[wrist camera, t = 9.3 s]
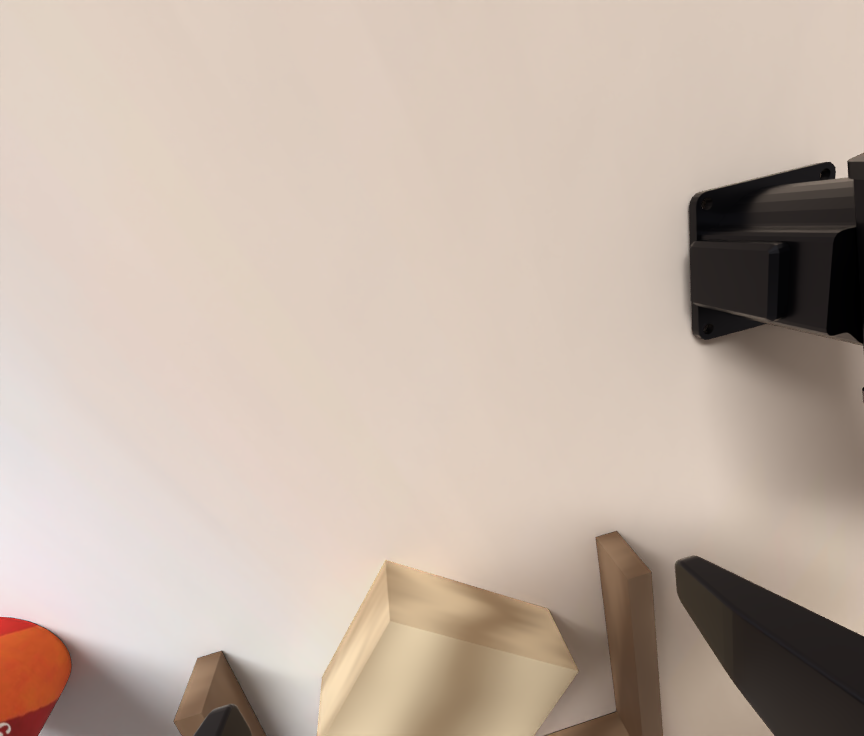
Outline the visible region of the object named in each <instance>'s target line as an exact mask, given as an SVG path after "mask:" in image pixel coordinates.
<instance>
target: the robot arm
mask: <svg viewBox="0 0 864 736" xmlns="http://www.w3.org/2000/svg"><path fill="white" fill-rule="evenodd" d="M847 162H848V177H849V178H840V179H835V173H836V171H835V166H834V165H833V164H832V163H831V162H824V163H817V164H813V165H808V166H804V167H800V168H796V169H792V170H788V171H784V172H780V173H776V174H772V175H767V176H763V177H759V178H755V179H751V180H747V181H743V182H739V183H735V184H731V185H726V186H722V187H718V188H714V189H710V190H706V191H702V192H699V193H697V194H695V195H694V196H693V197H692V199H691V201H690V205H689V218H690V268H691V301H692V330H693V334H694V335H695V336H696V337H698V338H702V339H705V340H706V339H712V338H716V337H719V336H723V335H727V334H730V333H734V332H738V331H741V330H745V329H749V328H752V327H756V326H760V325H763V324H772V325H776V326H780V327H785V328H789V329H793V330H798V331H802V332H806V333H811V334H815V335H819V336H824V337H828V338H832V339H837V340H841V341H845V342H850V343H854V344H858V345H863V349H864V153H862V154H860V155H858V156H856V157H854V158H851V159H849V160H848V161H847ZM820 173H821V177H820ZM703 200H705V202H706V204H705V207H704V208H703V209H702V206H701V204H702V201H703ZM706 325H707V329H706V330H705V331H703V330H704V327H705V326H706ZM862 393H863V402H864V387H863V389H862ZM675 573H676V586H677V593H678V596H679V599H680V601H681V603H682V604H683V606H684V607H685V609H686V610H687V612H688V614H689V615H690V617H691V618H692V620H693V621H694V623H695V624H696V626H697V627H698V629H699V630H700V632H701V634H702V635H703V637H704V638H705V640H706V641H707V643H708V644H709V646H710V647H711V649H712V651H713V652H714V654H715V655H716V657H717V658H718V660H719V661H720V663H721V664H722V666H723V667H724V669H725V670H726V672H727V673H728V675H729V676H730V678H731V679H732V681H733V682H734V684H735V685H736V686H737V688H738V689H739V690H740V692H741V693H742V694H743V696H744V697H745V698H746V700H747V701H748V702H749V703H750V705H751V706H752V707H753V709H754V710H755V711H756V712H757V714H758V715H759V716H760V718H761V719H762V720H763V721H764V723H765V724H766V725H767V727H768V728H769V729H770V730H771V732H772V733H773V734H774V736H864V636H862V635H860V634H858V633H856V632H853V631H851V630H849V629H847V628H845V627H843V626H841V625H839V624H837V623H835V622H833V621H831V620H829V619H827V618H825V617H823V616H820V615H818V614H816V613H814V612H812V611H810V610H808V609H806V608H804V607H802V606H800V605H798V604H796V603H794V602H792V601H789V600H787V599H785V598H783V597H781V596H779V595H777V594H775V593H773V592H771V591H769V590H767V589H765V588H763V587H761V586H759V585H756V584H754V583H752V582H750V581H748V580H746V579H744V578H742V577H740V576H738V575H736V574H734V573H732V572H730V571H728V570H726V569H723V568H721V567H719V566H717V565H715V564H713V563H711V562H709V561H707V560H705V559H703V558H701V557H698V556H689V557H686V558H683V559H680V560H678V561H676V563H675ZM193 736H252V732H251V729H250V727H249V726H248V724H247V722H246V720H245V719H244V717H243V715H242V714H241V712H240V710H239V708H238V707H237V706H236V705H235V704H228V705H225V706H222V707H218V708H216V709H214V710H212V711H211V712H210V713H209V714H208V715H207V717H206V718H205V720H204V721H203V722H202V724H201V725H200V727H199V728H198V730H197V731H196V732H195V734H194V735H193Z"/></svg>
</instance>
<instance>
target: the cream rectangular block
mask: <svg viewBox="0 0 864 736" xmlns="http://www.w3.org/2000/svg"><path fill="white" fill-rule="evenodd" d="M578 672H579V670H578V668H577V666H576V664H575V662H574V660H573V658H572V656H571V654H570V652H569V650H568V648H567V646H566V644H565V642H564V640H563V638H562V636H561V634H560V632H559V630H558V628H557V626H556V624H555V622H554V620H553V618H552V616H551V614H550V612H549V610H548V609H547V608H544V607H540V606H537V605H534V604H530V603H527V602H524V601H520V600H517V599H514V598H510V597H507V596H504V595H500V594H497V593H494V592H490V591H487V590H484V589H480V588H477V587H474V586H470V585H467V584H464V583H460V582H457V581H454V580H451V579H447V578H444V577H441V576H437V575H434V574H431V573H427V572H424V571H421V570H417V569H414V568H411V567H407V566H404V565H401V564H397V563H394V562H391V561H387V560H385V562H384V564H383V566H382V567H381V569H380V571H379V573H378V575H377V577H376V578H375V580H374V582H373V584H372V586H371V588H370V590H369V591H368V593H367V595H366V597H365V599H364V601H363V602H362V604H361V606H360V608H359V610H358V612H357V614H356V615H355V617H354V619H353V621H352V623H351V625H350V626H349V628H348V630H347V632H346V634H345V636H344V637H343V639H342V641H341V643H340V645H339V647H338V649H337V650H336V652H335V654H334V656H333V658H332V660H331V661H330V663H329V665H328V667H327V669H326V671H325V672H324V674H323V676H322V683H321V694H320V706H319V717H318V728H317V736H534V735H535V733H536V732H537V730H538V729H539V728H540V726H541V725H542V723H543V722H544V720H545V719H546V718H547V716H548V715H549V713H550V712H551V710H552V709H553V708H554V706H555V705H556V703H557V702H558V700H559V699H560V698H561V696H562V695H563V693H564V692H565V690H566V689H567V687H568V686H569V685H570V683H571V682H572V680H573V679H574V677H575V676H576V675H577V673H578Z"/></svg>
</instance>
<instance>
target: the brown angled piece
mask: <svg viewBox="0 0 864 736" xmlns="http://www.w3.org/2000/svg"><path fill="white" fill-rule="evenodd" d="M596 544H597V552H598V561H599V569H600V577H601V586H602V594H603V602H604V610H605V619H606V627H607V635H608V644H609V652H610V660H611V669H612V677H613V685H614V694H615V702H616V710H617V712H614V713H611V714H608V715H605V716H602V717H599V718H596V719H593V720H590V721H587V722H584V723H582V724H579V725H576V726H573V727H570V728H567V729H564V730H561V731H558V732H555V733H552V734H549V735H546V736H663V729H662V715H661V700H660V686H659V672H658V658H657V644H656V630H655V616H654V602H653V588H652V573H651V571H650V570H649V569H648V567H647V566H646V565H645V564H644V563H643V561H642V560H641V559H640V558H639V557H638V556H637V554H636V553H635V552H634V551H633V550H632V549H631V547H630V546H629V545H628V544H627V543H626V541H625V540H624V539H623V538H622V537H621V536H620V534H619V533H618V532H617V531H615V532H612V533H608V534H605V535H602V536H598V537H596ZM228 704H235V705H236V706H237V707H238V708H239V710H240V712H241V714H242V715H243V717H244V719H245V720H246V722H247V724H248V726H249V727H250V729H251V732H252V736H266V735H265V733H264V731H263V729H262V727H261V725H260V723H259V721H258V719H257V717H256V716H255V714H254V712H253V710H252V708H251V706H250V704H249V702H248V700H247V698H246V696H245V695H244V693H243V691H242V689H241V687H240V685H239V683H238V681H237V679H236V677H235V675H234V674H233V672H232V670H231V668H230V666H229V664H228V662H227V660H226V658H225V656H224V654H223V653H222V651H220V652H216V653H213V654H210V655H207V656H203V657H200V658H197V661H196V664H195V666H194V669H193V672H192V674H191V677H190V679H189V682H188V685H187V687H186V690H185V693H184V695H183V698H182V701H181V703H180V706H179V708H178V711H177V714H176V716H175V719H174V723H175V725H176V727H177V728H178V730H179V731H180V733H181V735H182V736H193V735H194V734H195V732H196V731H197V730H198V728H199V727H200V725H201V724H202V722H203V721H204V720H205V718H206V717H207V715H208V714H209V713H210V712H211V711H212V710H214V709H216V708H218V707H222V706H225V705H228Z"/></svg>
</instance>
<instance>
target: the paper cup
mask: <svg viewBox="0 0 864 736" xmlns="http://www.w3.org/2000/svg"><path fill="white" fill-rule="evenodd" d="M71 666H72V665H71V657H70V654H69V652H68V650H67V648H66V647H65V645H64V644H63V642H62V641H61V640H60V639H59V638H58V637H57V636H55V635H54V634H53V633H51V632H50V631H48V630H47V629H45V628H43V627H41V626H39V625H37V624H34V623H31V622H28V621H25V620H21V619H15V618H7V617H0V736H38V735H39V733H40V731H41V729H42V728H43V726H44V724H45V722H46V720H47V719H48V717H49V715H50V713H51V711H52V710H53V708H54V706H55V704H56V702H57V700H58V699H59V697H60V695H61V693H62V691H63V689H64V687H65V685H66V683H67V681H68V678H69V676H70V673H71Z"/></svg>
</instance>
